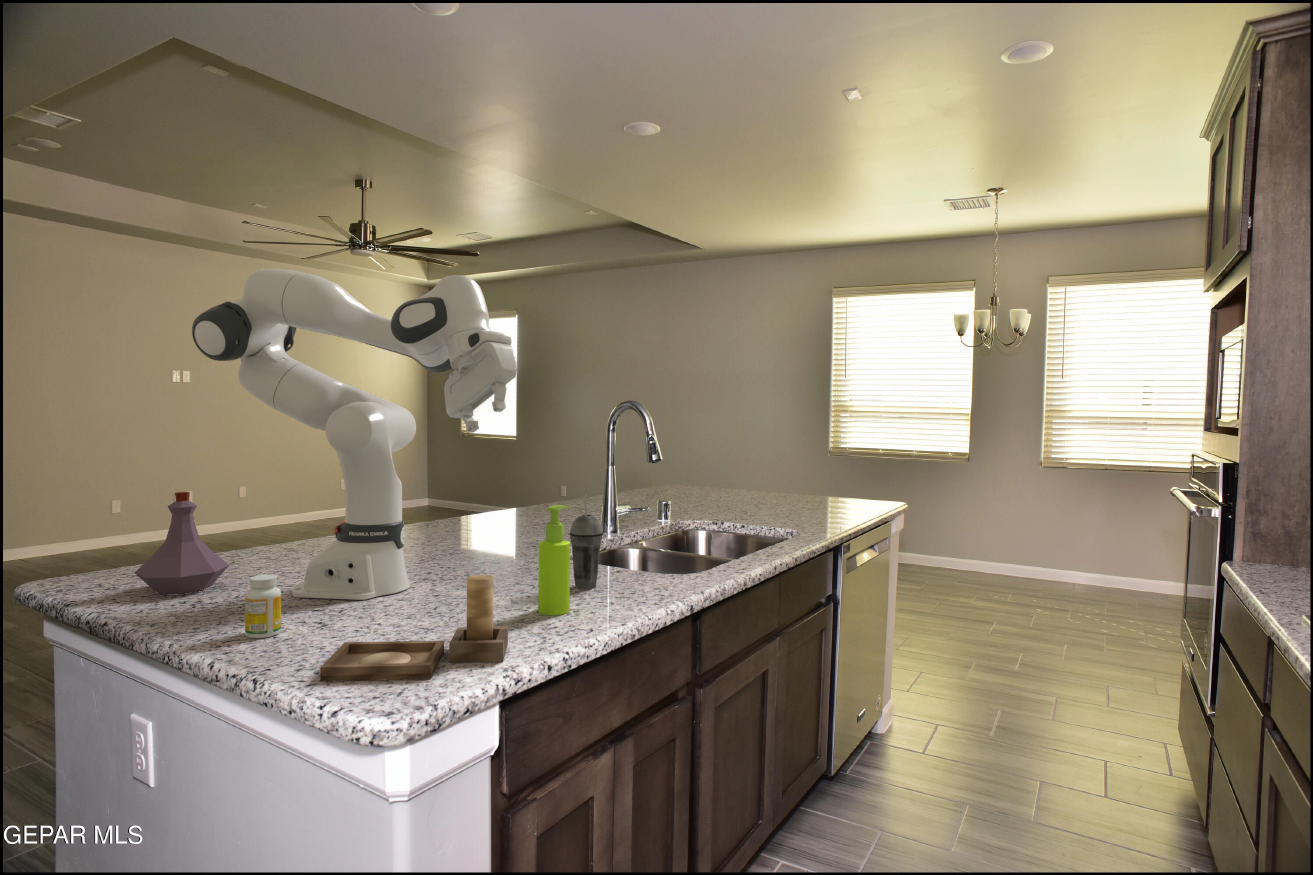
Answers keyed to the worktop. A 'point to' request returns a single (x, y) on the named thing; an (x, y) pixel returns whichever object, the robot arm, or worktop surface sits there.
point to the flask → (182, 555)
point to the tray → (383, 661)
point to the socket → (478, 647)
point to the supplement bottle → (263, 607)
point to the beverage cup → (585, 549)
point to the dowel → (480, 607)
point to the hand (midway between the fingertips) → (486, 420)
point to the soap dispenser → (554, 567)
